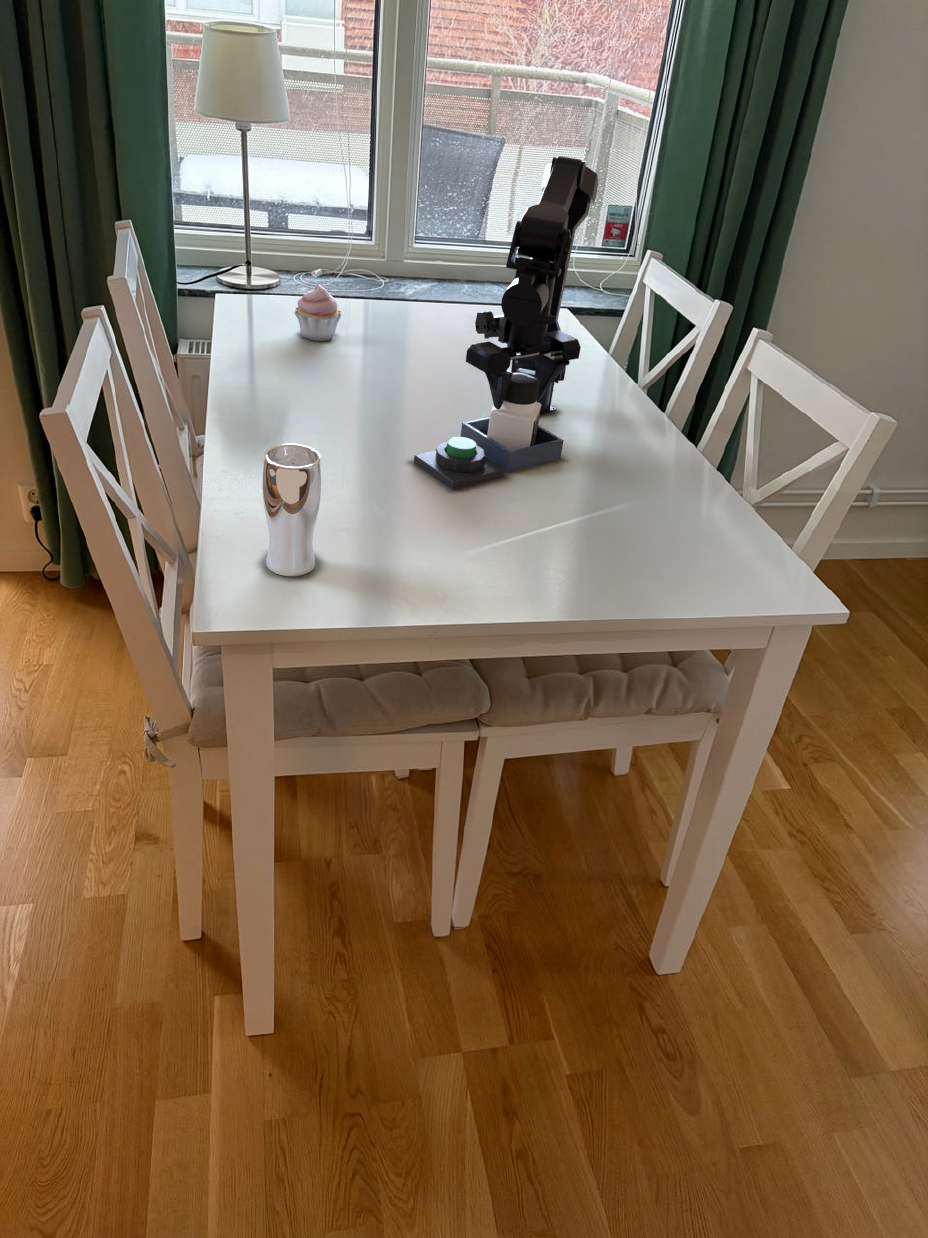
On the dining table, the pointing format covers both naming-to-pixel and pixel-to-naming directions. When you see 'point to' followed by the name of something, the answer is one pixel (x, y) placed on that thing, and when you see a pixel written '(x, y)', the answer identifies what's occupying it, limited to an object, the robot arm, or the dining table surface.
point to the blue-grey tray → (540, 453)
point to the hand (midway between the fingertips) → (516, 404)
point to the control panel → (458, 467)
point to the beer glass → (291, 506)
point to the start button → (461, 447)
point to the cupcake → (317, 314)
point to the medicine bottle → (517, 414)
